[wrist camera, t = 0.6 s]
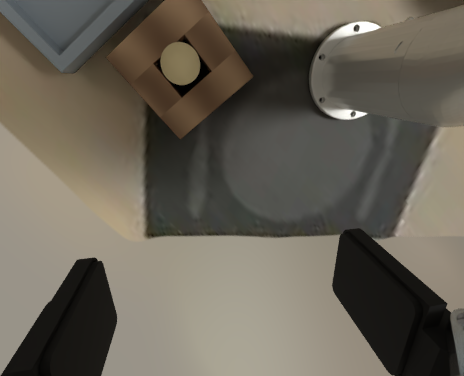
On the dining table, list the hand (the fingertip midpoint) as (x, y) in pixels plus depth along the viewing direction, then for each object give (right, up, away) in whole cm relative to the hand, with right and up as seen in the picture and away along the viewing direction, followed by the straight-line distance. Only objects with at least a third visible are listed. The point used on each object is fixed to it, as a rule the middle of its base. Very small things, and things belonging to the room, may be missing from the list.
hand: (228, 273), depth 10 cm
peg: (-6, +19, +24) cm, 31 cm away
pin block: (-6, +19, +24) cm, 31 cm away
